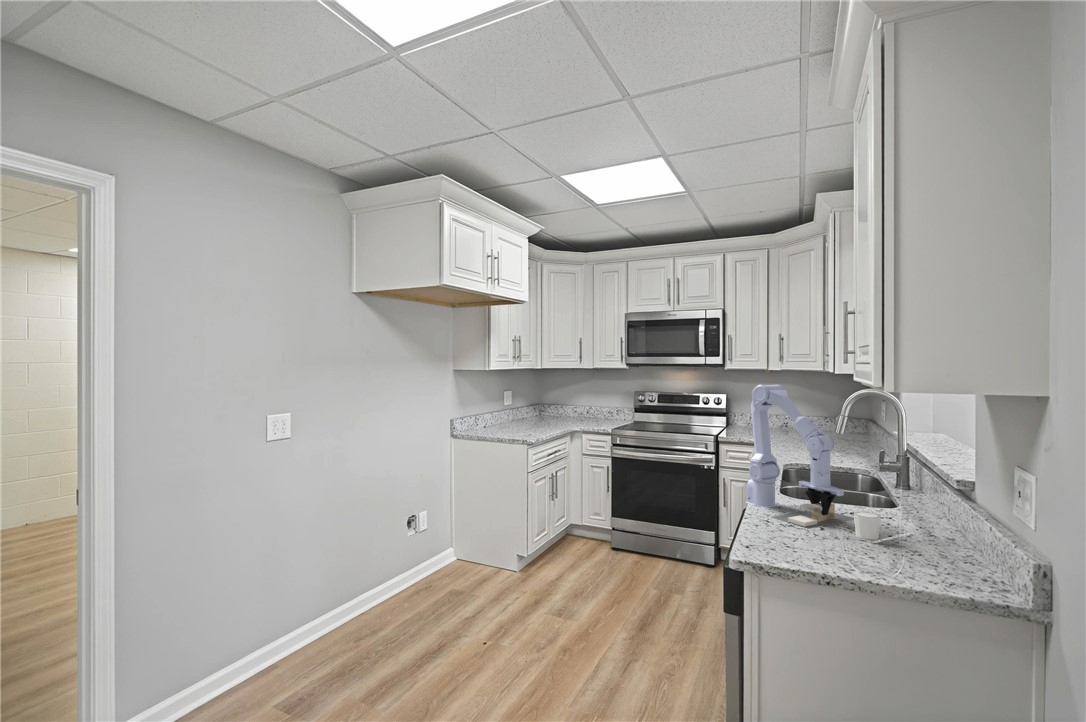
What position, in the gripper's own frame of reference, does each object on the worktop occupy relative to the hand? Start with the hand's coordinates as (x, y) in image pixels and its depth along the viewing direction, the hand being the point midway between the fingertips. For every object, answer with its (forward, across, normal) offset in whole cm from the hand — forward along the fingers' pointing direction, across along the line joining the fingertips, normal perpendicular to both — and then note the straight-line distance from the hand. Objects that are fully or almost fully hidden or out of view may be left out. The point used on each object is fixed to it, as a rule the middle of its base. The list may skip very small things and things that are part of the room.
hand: (820, 513), depth 170 cm
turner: (+2, 0, -1) cm, 2 cm away
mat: (+3, -2, 0) cm, 4 cm away
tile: (+1, 0, -6) cm, 6 cm away
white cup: (+3, +17, -3) cm, 17 cm away
